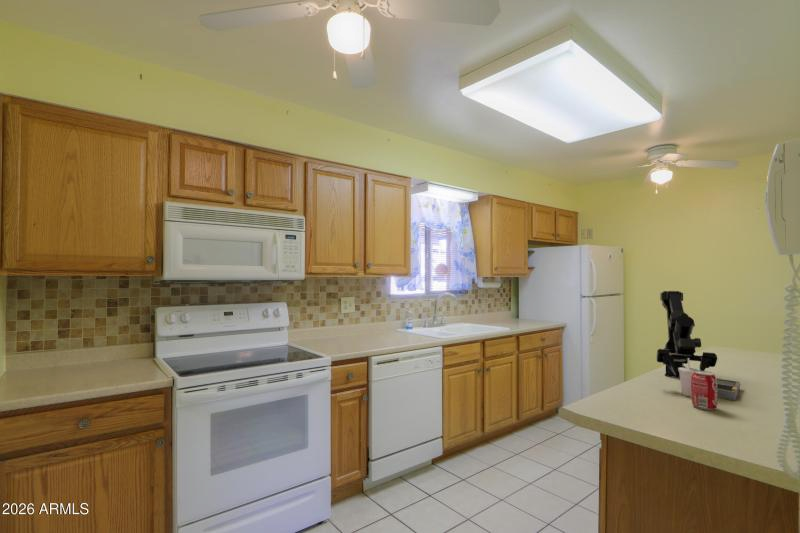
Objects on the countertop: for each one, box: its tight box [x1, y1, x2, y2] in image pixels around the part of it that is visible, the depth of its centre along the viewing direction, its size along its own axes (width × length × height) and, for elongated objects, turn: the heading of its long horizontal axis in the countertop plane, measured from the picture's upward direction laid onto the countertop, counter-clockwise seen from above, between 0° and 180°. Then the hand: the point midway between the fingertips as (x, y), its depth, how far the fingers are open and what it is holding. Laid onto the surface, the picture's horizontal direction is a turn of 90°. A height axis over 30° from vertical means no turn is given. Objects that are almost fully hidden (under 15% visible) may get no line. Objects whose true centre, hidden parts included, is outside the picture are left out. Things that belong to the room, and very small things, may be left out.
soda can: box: [690, 369, 718, 411], centre depth 135 cm, size 7×7×12 cm
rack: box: [716, 377, 741, 402], centre depth 154 cm, size 11×20×3 cm, turn 136°
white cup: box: [678, 358, 698, 397], centre depth 150 cm, size 6×6×14 cm
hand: (689, 376), depth 149 cm, fingers open, 8 cm apart
